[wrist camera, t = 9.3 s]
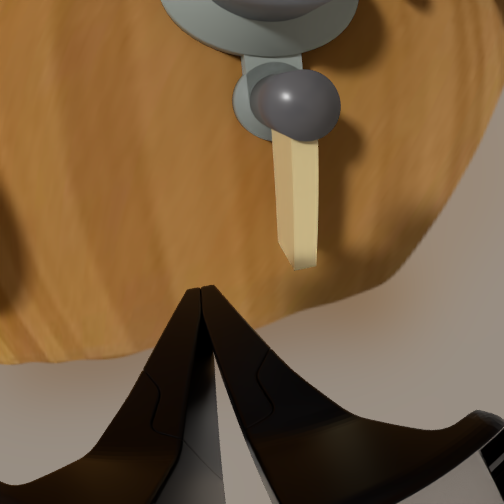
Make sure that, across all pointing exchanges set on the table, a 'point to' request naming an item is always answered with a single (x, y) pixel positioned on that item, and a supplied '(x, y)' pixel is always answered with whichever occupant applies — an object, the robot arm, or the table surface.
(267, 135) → the levelling base
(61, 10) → the table surface
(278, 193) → the mallet
